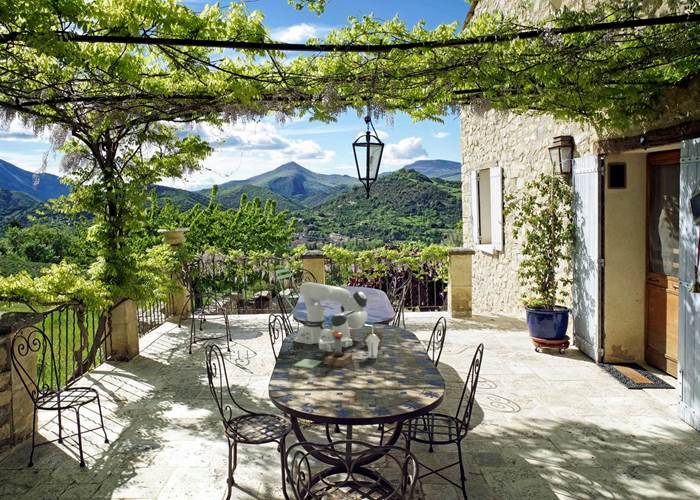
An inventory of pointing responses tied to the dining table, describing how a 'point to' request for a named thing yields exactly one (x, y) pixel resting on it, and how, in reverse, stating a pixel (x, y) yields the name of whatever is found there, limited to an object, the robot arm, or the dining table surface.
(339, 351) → the peg
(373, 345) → the cup with straw
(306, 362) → the mat
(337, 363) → the collar
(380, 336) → the pine cone
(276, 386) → the dining table surface
